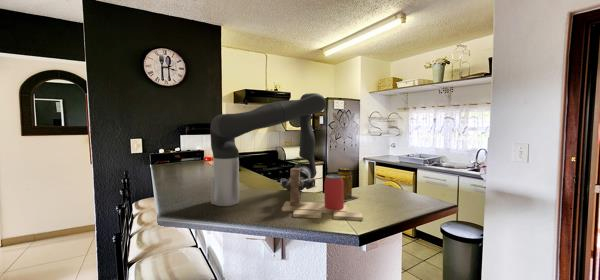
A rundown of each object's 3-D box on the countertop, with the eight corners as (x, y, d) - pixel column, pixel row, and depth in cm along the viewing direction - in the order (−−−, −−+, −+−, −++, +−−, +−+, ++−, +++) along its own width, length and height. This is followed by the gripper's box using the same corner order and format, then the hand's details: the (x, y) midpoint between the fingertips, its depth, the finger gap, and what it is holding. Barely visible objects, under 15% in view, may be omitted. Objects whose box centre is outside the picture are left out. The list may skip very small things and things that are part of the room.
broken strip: (292, 216, 84) (293, 213, 84) (294, 212, 88) (294, 209, 88) (362, 220, 82) (362, 217, 82) (361, 216, 86) (361, 213, 86)
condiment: (332, 197, 107) (332, 168, 106) (346, 194, 112) (346, 166, 112) (345, 201, 101) (345, 170, 101) (359, 198, 107) (360, 168, 106)
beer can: (342, 214, 88) (341, 179, 86) (322, 212, 90) (322, 178, 88) (344, 207, 94) (344, 174, 93) (326, 205, 96) (326, 173, 94)
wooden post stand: (281, 210, 90) (282, 170, 89) (286, 203, 98) (286, 166, 97) (346, 214, 87) (347, 172, 86) (345, 206, 95) (346, 168, 94)
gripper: (283, 168, 107) (273, 176, 90) (317, 169, 105) (314, 178, 88) (283, 186, 108) (273, 198, 91) (317, 187, 106) (314, 200, 89)
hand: (293, 188), depth 90 cm, fingers open, 3 cm apart
